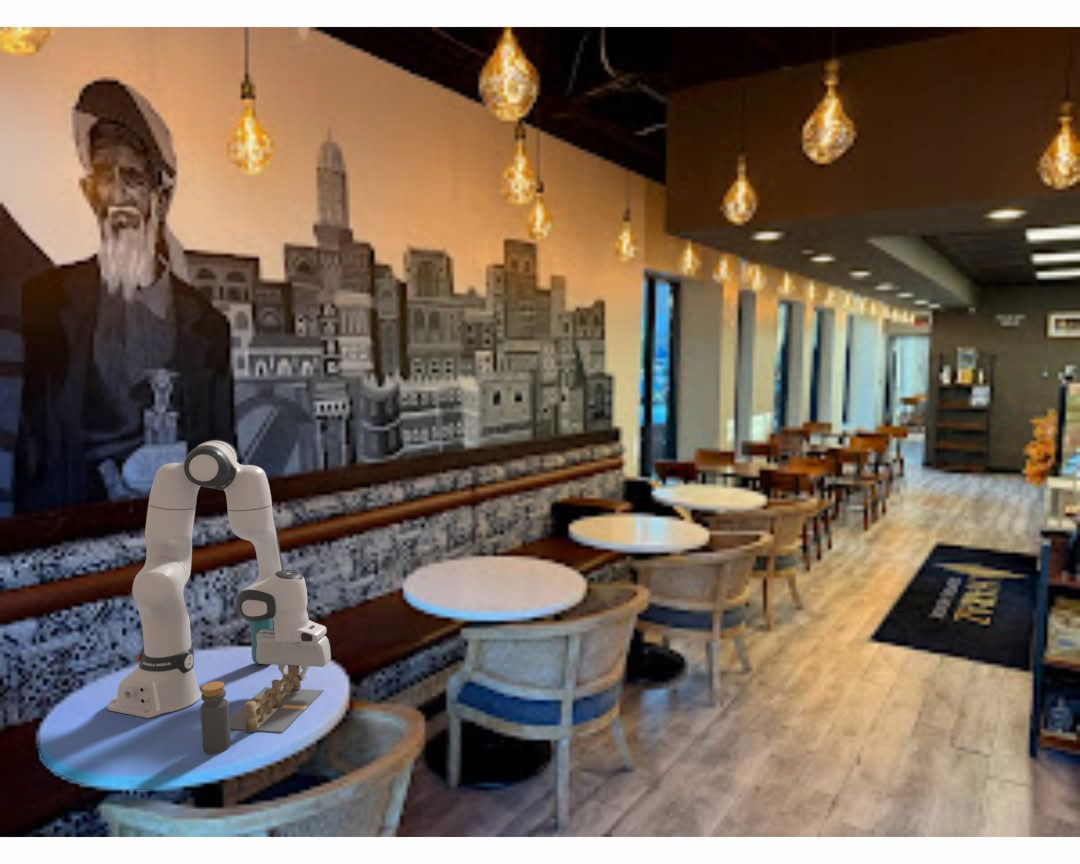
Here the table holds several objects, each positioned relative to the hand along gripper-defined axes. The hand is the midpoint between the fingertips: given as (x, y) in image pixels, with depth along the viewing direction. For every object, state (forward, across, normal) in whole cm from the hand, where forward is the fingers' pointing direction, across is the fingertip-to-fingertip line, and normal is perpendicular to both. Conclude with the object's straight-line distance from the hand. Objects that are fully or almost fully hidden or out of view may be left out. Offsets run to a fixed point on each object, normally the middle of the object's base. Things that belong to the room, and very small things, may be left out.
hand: (294, 679), depth 194 cm
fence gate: (+2, 0, -3) cm, 4 cm away
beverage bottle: (+3, -18, +16) cm, 24 cm away
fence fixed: (+3, 0, -16) cm, 16 cm away
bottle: (+3, -4, -30) cm, 30 cm away
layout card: (+3, 0, -10) cm, 11 cm away
